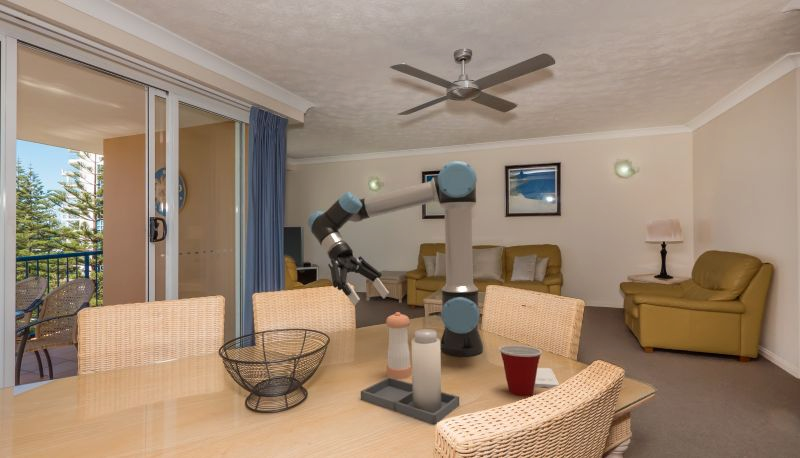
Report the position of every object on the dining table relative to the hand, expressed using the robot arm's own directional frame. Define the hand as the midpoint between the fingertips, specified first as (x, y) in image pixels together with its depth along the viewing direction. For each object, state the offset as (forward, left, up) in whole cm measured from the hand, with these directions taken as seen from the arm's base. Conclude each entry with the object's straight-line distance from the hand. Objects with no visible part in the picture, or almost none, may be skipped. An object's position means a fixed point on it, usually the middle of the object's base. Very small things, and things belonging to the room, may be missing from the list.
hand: (372, 299), depth 117 cm
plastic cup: (-9, +43, -22) cm, 49 cm away
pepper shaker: (0, +10, -22) cm, 24 cm away
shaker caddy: (+13, +23, -22) cm, 34 cm away
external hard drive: (-22, +44, -23) cm, 54 cm away
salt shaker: (+13, +28, -21) cm, 37 cm away
